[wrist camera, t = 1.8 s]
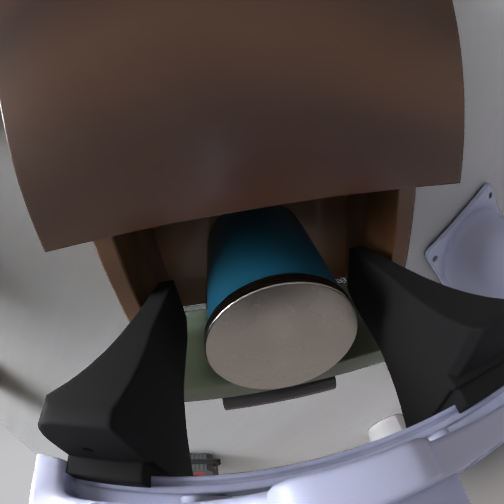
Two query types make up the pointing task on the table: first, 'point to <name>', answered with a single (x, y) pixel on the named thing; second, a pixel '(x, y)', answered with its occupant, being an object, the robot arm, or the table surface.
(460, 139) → the cabinet
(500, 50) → the table surface
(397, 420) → the white cup
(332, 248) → the drawer
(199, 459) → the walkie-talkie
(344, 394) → the table surface
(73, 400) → the robot arm
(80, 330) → the table surface
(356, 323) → the tin
